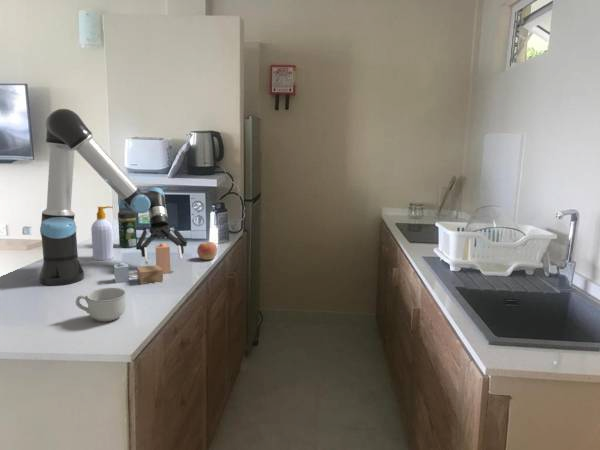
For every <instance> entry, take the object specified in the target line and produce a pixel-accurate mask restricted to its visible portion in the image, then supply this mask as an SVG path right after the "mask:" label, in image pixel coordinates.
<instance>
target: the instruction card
mask: <svg viewBox="0 0 600 450" xmlns="http://www.w3.org/2000/svg"><path fill="white" fill-rule="evenodd" d="M129 278H138V275H137V271H134V272H129Z"/></svg>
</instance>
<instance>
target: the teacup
mask: <svg viewBox="0 0 600 450" xmlns="http://www.w3.org/2000/svg"><path fill="white" fill-rule="evenodd" d="M126 293H127V291H126V290H124V289H123V288H119V287H102V288H98V289H94V290H91V291H90V292H89V293H88V294H80V295H78V296H77V297H76V299H75V305H76V306H77V308H79V309H80V310H82V311H84V312H86V314H89V316H90V317H91V318H93V320H95V321H98V322H103V323H105V322H107V321H108V322H112V320H113V321H116V320H117V319H119V318H120V317H121V316H122V315H123V314H124V313H125V311H126V308H127V307H126V305H127V303H126V299H127V298H126ZM82 299H84V301H85V302H86V304H87V306H84V305H83V304H82V303H81V302H80V301H81V300H82ZM115 319H116V320H115Z"/></svg>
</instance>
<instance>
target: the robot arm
mask: <svg viewBox="0 0 600 450" xmlns="http://www.w3.org/2000/svg"><path fill="white" fill-rule="evenodd" d="M45 127H46V135H45V138H46V139H45V143H46V145H47V146H48V147H49V161H48V162H49V164H48V177H47V178H48V179H47V195H46V198H47V199H46V208H45V209H44V210H42V212H41V222H40V226H39V231H40V232H39V233H40V236H41V244H42V245H41V246H42V259H43V262H42V267H41V271H40V272H39V282H40V284H42V285H46V286H62V285H70V284H75V283H76V282H80V281H82V280H83V279H84V278H85V271H84V269H83V267H82V264H81V262H80V261H79V256H78V243H77V241H78V239H77V225H76V222H75V216H76V215H75V213H74V211H72V208H71V207H72V192H73V181H74V178H73V177H74V166H75V165H74V164H75V163H74V162H75V151H76V153H78V154H79V155H80V156H81V157H82V159H84V161H86V162H87V163H88V165H89V166H90V167H91V168H92V169H93V170H94V171H95V172H96V173H97V174H98V176H99V177H101V178H102V179H103V180H104V181H105V182H106V183H107V185H108V186H109V187H110V188H111V189H112V190H113V191H114V193H116V194H117V196H118V197H117V198H118V199H117V205H118V207H119V208H122V209H130V210H131V211H132V212H134V213H135V214H145V213H147V212H148V216H149V228H146V227H143V228H142V229H143V230H142V233H141V235H140V237H139V239H138V241H137V245H136V246H135V248H136V250H140V251H141V256H142V258H143V257H144V263H145V265H148V263H149V260H148V253H147V251H148V250H147V247H148V246H149V245H150V244H151V243H152V242H153V241H154V240H155V239H157V240H158V239H165V238H166V239H168V240H170V241H171V242H172V243H173V244H175V245H176V246H177V251H178V257H179V262H180V263H181V262H182V261H183V254H184V251H185V249H184V247H187V244H188V241H187V240H186V238H184V236H183V235H182V234H181V232H180V231H179V230H178V226H176V225H174V226H173V227H170V226H169V219H168V211H167V206H166V205H167V204H166V197H165V193H164V190H163V189H162V188H159V187H155V186H154V187H150V188H148V189H147V190H146V191H145V192H144V191H141V190H140V189H139V188H138V186H137V185H136V184H135V183H134V182H133V181H132V180H131V179H130V178H129V176H127V174H126V173H125V172H124V171H123V169H121V168H120V167H119V166H118V164H117V163H116V162H115V161H114V159H113V158H112V157H111V156H110V155H109V154H108V153H107V152H106V151H105V150H104V149H103V148H102V146H100V144H99V143H98V142H97V141H96V140H95V138H93V133H92V131H91V130H90V129H89V128H88V127H87V126H86V124H85V123H84V121H83V120H82V118H81V117H80V116H79V115H78V113H76V112H75V111H73V110H71V109H67V108H58V109H56V110H54V111H52V112H51V113H50V114H49V115H48V117H47V119H46V122H45ZM171 232H172V233H171ZM149 233H150V236H148V238H147V239H146V236H147V235H149ZM173 234H174V235H173ZM145 239H146V240H145Z"/></svg>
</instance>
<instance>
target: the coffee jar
mask: <svg viewBox="0 0 600 450" xmlns="http://www.w3.org/2000/svg"><path fill="white" fill-rule="evenodd" d="M136 214H137V213H135V212H134V211H133V210H129V209H123V210H122V209H121V210H120V211H118V213H117V224H118V242H119V244H118V245H119V246H120V247H122V248H124V249H126V248H128V249H131V248H136V245H137V243H138V241H137V240H138V237H137V236H138V235H137V224H136V223H137V216H136Z"/></svg>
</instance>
